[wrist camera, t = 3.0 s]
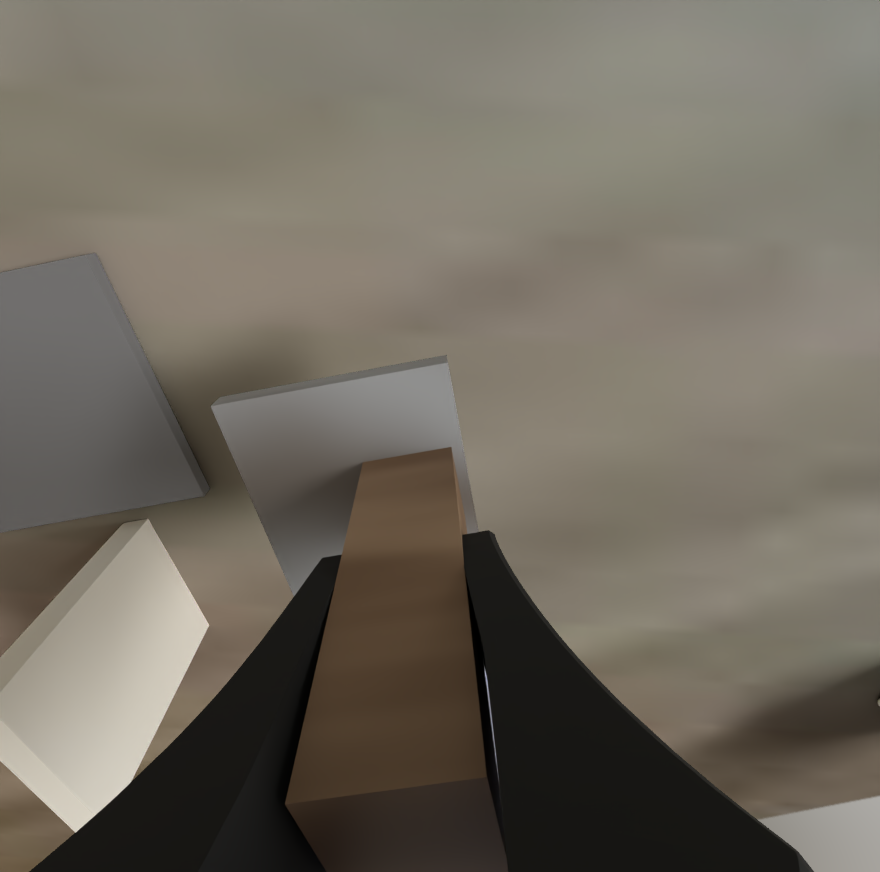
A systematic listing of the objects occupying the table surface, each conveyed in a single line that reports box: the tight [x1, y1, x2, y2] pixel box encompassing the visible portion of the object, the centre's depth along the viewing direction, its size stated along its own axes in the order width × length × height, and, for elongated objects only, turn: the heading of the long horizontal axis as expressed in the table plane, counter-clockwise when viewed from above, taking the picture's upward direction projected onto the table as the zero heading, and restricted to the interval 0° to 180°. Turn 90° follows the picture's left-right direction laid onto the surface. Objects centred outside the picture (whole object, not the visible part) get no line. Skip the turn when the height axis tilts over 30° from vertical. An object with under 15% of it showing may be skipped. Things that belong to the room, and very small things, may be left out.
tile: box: [0, 519, 209, 833], centre depth 19 cm, size 7×1×9 cm, turn 11°
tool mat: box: [0, 253, 210, 533], centre depth 19 cm, size 10×10×1 cm
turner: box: [211, 355, 508, 872], centre depth 10 cm, size 7×6×9 cm
